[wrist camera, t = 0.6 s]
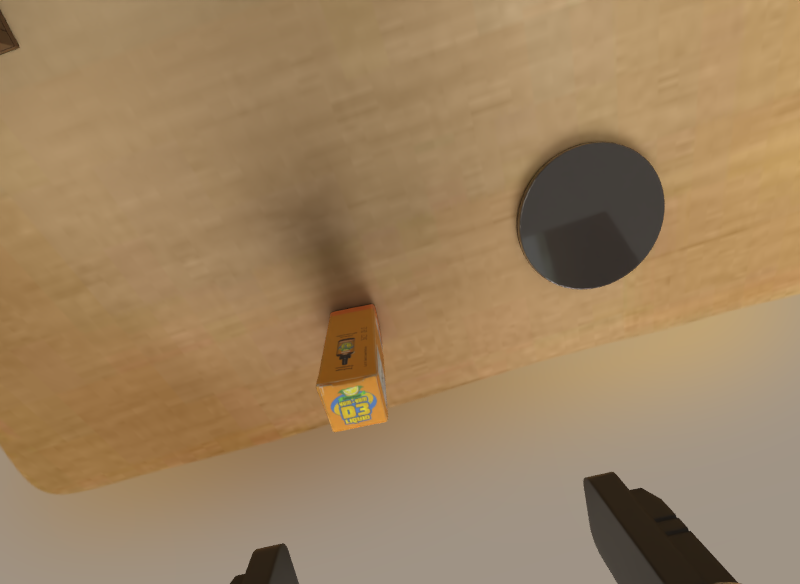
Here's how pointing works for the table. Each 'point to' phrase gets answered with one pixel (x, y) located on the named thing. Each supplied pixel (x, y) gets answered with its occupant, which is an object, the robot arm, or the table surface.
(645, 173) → the coaster
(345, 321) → the supplement box
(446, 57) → the table surface
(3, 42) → the crate
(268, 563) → the robot arm
